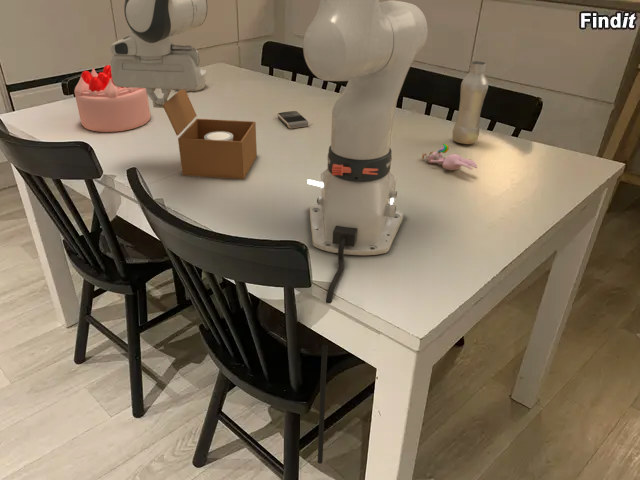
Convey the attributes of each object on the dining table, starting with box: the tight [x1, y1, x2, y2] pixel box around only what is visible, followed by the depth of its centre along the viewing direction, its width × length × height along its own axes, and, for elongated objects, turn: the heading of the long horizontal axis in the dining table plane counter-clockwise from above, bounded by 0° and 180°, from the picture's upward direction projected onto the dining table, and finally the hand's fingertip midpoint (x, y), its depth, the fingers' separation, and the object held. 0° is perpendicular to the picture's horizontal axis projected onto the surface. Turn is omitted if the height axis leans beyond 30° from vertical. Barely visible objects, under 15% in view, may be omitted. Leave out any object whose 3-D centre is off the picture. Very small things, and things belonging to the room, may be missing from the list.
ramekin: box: [178, 68, 207, 93], centre depth 189 cm, size 11×11×5 cm
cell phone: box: [277, 110, 309, 130], centre depth 161 cm, size 6×11×1 cm, turn 18°
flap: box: [163, 89, 198, 136], centre depth 130 cm, size 14×7×1 cm
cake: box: [74, 64, 151, 133], centre depth 159 cm, size 20×20×14 cm
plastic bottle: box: [452, 60, 489, 145], centre depth 141 cm, size 6×7×20 cm
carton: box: [177, 118, 258, 180], centre depth 133 cm, size 14×15×9 cm
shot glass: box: [204, 131, 233, 141], centre depth 134 cm, size 7×7×7 cm
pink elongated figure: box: [421, 143, 478, 171], centre depth 131 cm, size 6×6×15 cm
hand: (160, 107), depth 130 cm, fingers closed
